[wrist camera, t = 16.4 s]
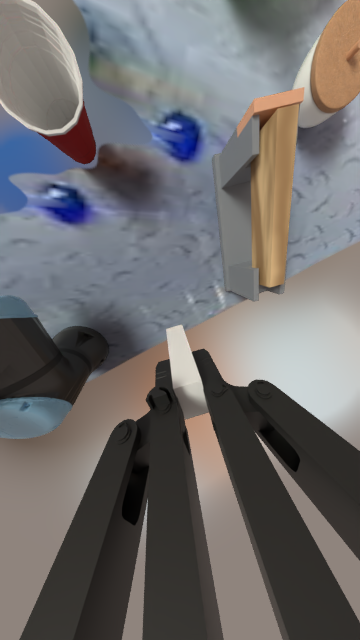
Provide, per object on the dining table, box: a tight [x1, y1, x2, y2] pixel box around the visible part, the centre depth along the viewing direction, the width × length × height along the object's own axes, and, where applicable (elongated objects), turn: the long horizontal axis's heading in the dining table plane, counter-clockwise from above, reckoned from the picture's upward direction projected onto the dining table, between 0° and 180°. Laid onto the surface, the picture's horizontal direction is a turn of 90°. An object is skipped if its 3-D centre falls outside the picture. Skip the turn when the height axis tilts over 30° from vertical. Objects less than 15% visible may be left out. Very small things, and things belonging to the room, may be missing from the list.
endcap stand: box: [212, 87, 305, 301], centre depth 31 cm, size 9×30×14 cm, turn 14°
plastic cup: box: [0, 0, 96, 164], centre depth 22 cm, size 11×11×12 cm
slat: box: [251, 104, 299, 287], centre depth 26 cm, size 3×24×6 cm, turn 14°
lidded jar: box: [292, 0, 360, 128], centre depth 25 cm, size 11×11×9 cm
